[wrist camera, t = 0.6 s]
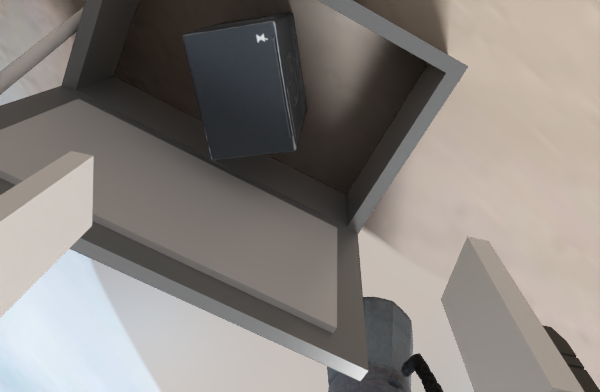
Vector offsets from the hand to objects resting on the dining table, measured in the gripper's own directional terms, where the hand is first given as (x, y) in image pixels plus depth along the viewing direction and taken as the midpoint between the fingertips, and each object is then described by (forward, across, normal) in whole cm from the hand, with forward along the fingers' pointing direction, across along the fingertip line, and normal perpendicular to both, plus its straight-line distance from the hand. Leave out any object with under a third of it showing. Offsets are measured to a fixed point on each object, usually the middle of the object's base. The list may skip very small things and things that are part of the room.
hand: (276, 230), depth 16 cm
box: (+24, -4, +1) cm, 24 cm away
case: (+23, -4, +1) cm, 24 cm away
